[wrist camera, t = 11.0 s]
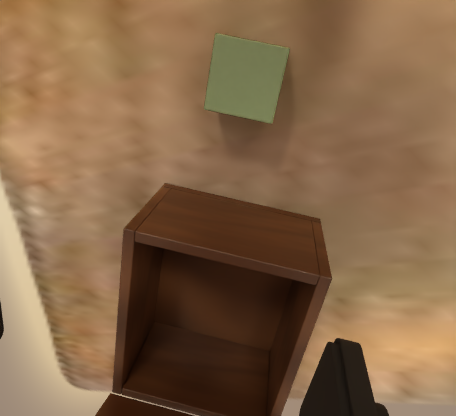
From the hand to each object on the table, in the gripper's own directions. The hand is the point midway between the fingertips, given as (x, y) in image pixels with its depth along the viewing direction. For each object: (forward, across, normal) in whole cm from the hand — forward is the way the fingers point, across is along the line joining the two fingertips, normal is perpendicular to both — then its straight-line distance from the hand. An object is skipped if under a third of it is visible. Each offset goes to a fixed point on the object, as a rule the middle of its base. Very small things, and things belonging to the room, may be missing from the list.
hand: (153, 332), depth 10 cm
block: (+21, 0, -5) cm, 22 cm away
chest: (+21, -1, +13) cm, 24 cm away
